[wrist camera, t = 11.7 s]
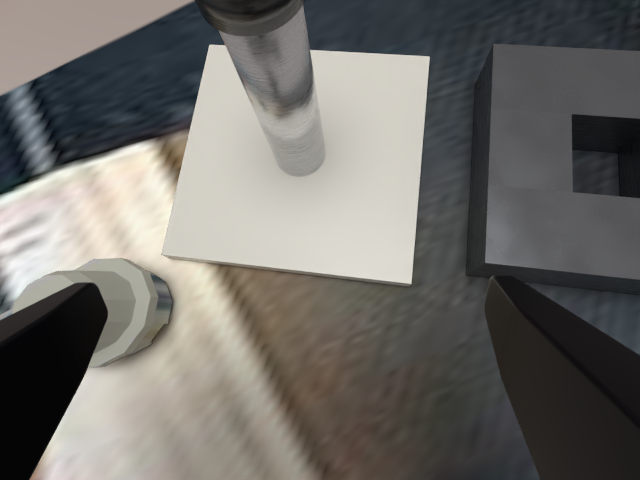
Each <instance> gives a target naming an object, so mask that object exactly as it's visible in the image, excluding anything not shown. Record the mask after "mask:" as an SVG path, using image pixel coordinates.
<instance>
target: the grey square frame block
mask: <svg viewBox="0 0 640 480" xmlns="http://www.w3.org/2000/svg"><path fill="white" fill-rule="evenodd" d="M572 149H578V150H591V151H604V152H617V153H618V157H619V180H620V196H608V195H597V194H586V193H575V192H573V177H572ZM466 275H469V276H478V277H486V278H491V277H492V276H493V275H512V276H514V277H516V278H517V279H519V280H520V281H522V282H530V283H539V284H548V285H557V286H565V287H574V288H583V289H592V290H601V291H609V292H618V293H627V294H636V295H640V51H625V50H605V49H585V48H565V47H545V46H525V45H505V44H493V46H492V48H491V51H490V53H489V55H488V57H487V59H486V62H485V64H484V66H483V68H482V70H481V73H480V75H479V77H478V79H477V81H476V84H475V99H474V120H473V140H472V161H471V181H470V202H469V222H468V243H467V263H466Z"/></svg>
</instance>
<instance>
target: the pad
mask: <svg viewBox="0 0 640 480" xmlns="http://www.w3.org/2000/svg"><path fill="white" fill-rule="evenodd" d="M310 53H311V60H312V66H313V72H314V79H315V85H316V91H317V98H318V104H319V110H320V116H321V123H322V129H323V135H324V142H325V148H326V156H325V159H324V162H323V164H322V165H321V167H320V168H319V169H318V170H317V171H315V172H314V173H312V174H310V175H307V176H301V177H297V176H292V175H289V174H287V173H285V172H284V171H282V170H281V169H280V167H279V166H278V164H277V162H276V160H275V157H274V155H273V153H272V151H271V148H270V146H269V144H268V141H267V139H266V137H265V135H264V132H263V130H262V128H261V125H260V123H259V121H258V119H257V116H256V114H255V112H254V110H253V107H252V105H251V103H250V100H249V98H248V96H247V94H246V91H245V89H244V87H243V84H242V82H241V80H240V78H239V75H238V73H237V71H236V68H235V66H234V64H233V62H232V59H231V57H230V55H229V52H228V50H227V48H226V46H225V45H209V49H208V54H207V58H206V63H205V67H204V71H203V76H202V80H201V84H200V89H199V93H198V97H197V102H196V106H195V110H194V115H193V119H192V123H191V128H190V132H189V136H188V141H187V145H186V149H185V154H184V158H183V163H182V167H181V171H180V176H179V180H178V184H177V189H176V193H175V197H174V202H173V206H172V210H171V215H170V219H169V223H168V228H167V232H166V236H165V241H164V245H163V249H162V254H161V255H163V256H166V257H168V258H172V259H181V260H189V261H197V262H206V263H214V264H223V265H231V266H240V267H248V268H256V269H265V270H273V271H282V272H290V273H298V274H307V275H315V276H324V277H332V278H341V279H349V280H357V281H366V282H374V283H383V284H391V285H399V286H408V287H409V286H410V285H411V283H412V270H413V258H414V245H415V233H416V220H417V208H418V196H419V183H420V171H421V158H422V146H423V133H424V121H425V109H426V96H427V84H428V71H429V59H430V57H428V56H409V55H391V54H372V53H354V52H336V51H317V50H310Z"/></svg>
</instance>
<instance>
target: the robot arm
mask: <svg viewBox="0 0 640 480" xmlns="http://www.w3.org/2000/svg"><path fill="white" fill-rule="evenodd" d="M485 316H486V320H487V324H488V328H489V332H490V336H491V340H492V344H493V348H494V351H495V355H496V359H497V363H498V367H499V371H500V374H501V378H502V381H503V384H504V386H505V389H506V392H507V394H508V397H509V399H510V402H511V405H512V407H513V410H514V412H515V415H516V418H517V420H518V423H519V425H520V428H521V431H522V433H523V436H524V438H525V441H526V444H527V446H528V449H529V451H530V454H531V456H532V459H533V462H534V464H535V467H536V469H537V472H538V475H539V477H540V480H640V355H639V354H637V353H636V352H634V351H632V350H631V349H629V348H628V347H626V346H624V345H623V344H621V343H620V342H618V341H616V340H615V339H613V338H612V337H610V336H608V335H607V334H605V333H604V332H602V331H600V330H599V329H597V328H596V327H594V326H592V325H591V324H589V323H588V322H586V321H584V320H583V319H581V318H580V317H578V316H576V315H575V314H573V313H572V312H570V311H568V310H567V309H565V308H564V307H562V306H560V305H559V304H557V303H556V302H554V301H552V300H551V299H549V298H548V297H546V296H544V295H543V294H541V293H540V292H538V291H536V290H535V289H533V288H532V287H530V286H528V285H527V284H525V283H524V282H522V281H520V280H519V279H517V278H516V277H514V276H512V275H493V276H492V277H491V278H490V280H489V285H488V290H487V296H486V302H485ZM107 318H108V309H107V306H106V304H105V302H104V299H103V297H102V295H101V292H100V290H99V288H98V286H97V285H96V284H95V283H93V282H78V283H74V284H72V285H70V286H68V287H66V288H64V289H62V290H60V291H58V292H56V293H54V294H52V295H50V296H48V297H46V298H44V299H42V300H40V301H38V302H36V303H34V304H32V305H30V306H28V307H26V308H23V309H21V310H19V311H17V312H15V313H13V314H11V315H9V316H7V317H5V318H3V319H1V320H0V480H30V478H31V476H32V474H33V472H34V470H35V469H36V467H37V465H38V463H39V461H40V459H41V457H42V455H43V453H44V451H45V450H46V448H47V446H48V444H49V442H50V440H51V438H52V436H53V434H54V433H55V431H56V429H57V427H58V425H59V423H60V421H61V419H62V417H63V416H64V414H65V412H66V410H67V408H68V406H69V404H70V402H71V400H72V399H73V397H74V395H75V393H76V391H77V389H78V387H79V385H80V383H81V381H82V379H83V377H84V375H85V373H86V371H87V368H88V366H89V363H90V361H91V359H92V356H93V354H94V351H95V349H96V346H97V344H98V341H99V339H100V336H101V334H102V331H103V329H104V326H105V324H106V321H107Z"/></svg>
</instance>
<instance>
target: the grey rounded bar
mask: <svg viewBox="0 0 640 480" xmlns="http://www.w3.org/2000/svg"><path fill="white" fill-rule="evenodd" d="M78 282H93V283H95V284H96V285H97V286H98V288H99V290H100V292H101V295H102V297H103V299H104V302H105V304H106V306H107V309H108V318H107V321H106V324H105V326H104V329H103V331H102V334H101V336H100V339H99V341H98V344H97V346H96V349H95V351H94V354H93V356H92V359H91V361H90V363H89V366H88V367H102V366H106V365H108V364H110V363H112V362H114V361H116V360H118V359H120V358H121V357H123V356H128V355H132V354H134V353H136V352H138V351H139V350H141V349H143V348H145V347H147V346H149V345H151V344H152V341H151V340H152V339H153V338H154V337H155V335H156V334H157V333H158V331H159V330H160V329H161V327H162V326H163V325H164V324H168V320H169V315H170V310H171V305H172V298H171V296H170V293H169V290H168V288H167V285H166V282H165V281H164V280H162V279H161V278H159V277H157V276H156V275H154V274H153V273H151V272H149V271H146V270H144V269H143V268H141V267H139V266H138V265H136V264H135V263H133V262H132V261H130V260H127V259H122V258H114V259H93V260H92V261H90V262H88V263H86V264H84V265H83V266H81V267H79V268H77V269H76V270H74V271H56V272H53V273H51V274H48V275H45V276H43V277H42V278H40V279H38V280H36V281H34V282H33V283H31V284H29V285H28V286H27V287H26V288H25V289H24V291H23V292H22V293H21V295H20V296H19V297H18V298H17V300H16V301H15V303H14V307H13V309H11V310H9V311H7V312H5V313H3V314H1V315H0V320H1V319H3V318H5V317H7V316H9V315H11V314H13V313H15V312H17V311H19V310H21V309H23V308H26V307H28V306H30V305H32V304H34V303H36V302H38V301H40V300H42V299H44V298H46V297H48V296H50V295H52V294H54V293H56V292H58V291H60V290H62V289H64V288H66V287H68V286H70V285H72V284H74V283H78Z"/></svg>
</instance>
